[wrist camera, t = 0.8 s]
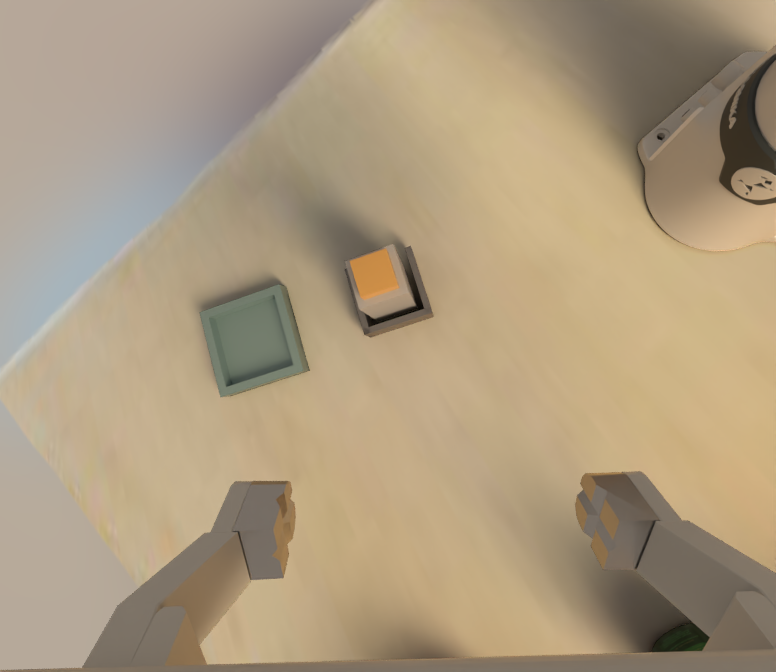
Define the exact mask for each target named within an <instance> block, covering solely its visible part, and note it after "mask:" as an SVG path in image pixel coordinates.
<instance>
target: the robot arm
mask: <svg viewBox="0 0 776 672" xmlns="http://www.w3.org/2000/svg"><path fill="white" fill-rule="evenodd" d="M657 136H659V137H661V138H662V140H659V139H657ZM638 153H639V156H640V159H641V161H642V163H643V166H644V168H645V196H646V201H647V205H648V207H649V210H650V212H651V214H652V216H653V218H654V219H655V221H656V222H657V223H658V225H659V226H660V227H661V228H662V229H663V230H664V231H665V232H666V233H667V234H669V235H670V236H671V237H673V238H674V239H676V240H678V241H679V242H681V243H683V244H686V245H688V246H691V247H694V248H697V249H702V250H708V251H728V250H735V249H739V248H743V247H746V246H749V245H752V244H755V243H759V242H776V45H775V46H774V47H773V48H772V49H771V50H770V51H768V52H761V51H750V52H744V53H742V54H741V55H740V56H738V57H737V58H736V59H735V60H732V61H731V62H730V63H729V64H727V65H726V66H725V67H724V68H723V69H722V70H721V71H720V72H719V73H718V74H717V75H716V76H715V77H714V78H712V79H711V80H710V81H709V82H708V83H707V84H705V85H704V86H703V87H702V88H701V89H700V90H698V91H697V92H696V93H695V94H694V95H693V96H691V97H690V98H689V99H688V100H687V101H686V102H684V103H683V104H682V105H681V106H680V107H679V108H677V109H676V110H675V111H674V112H673V113H672V114H670V115H669V116H668V117H667V118H666V119H665V120H663V121H662V122H661V123H660V124H659V125H658V126H656V127H655V128H654V129H653V130H652V131H651V132H649V133H648V134H647V135H646V136H645V137H644V138H643V139H641V141H640V142H639V144H638ZM580 484H581V486H582V488H583V491H582V492H581V493H579V494H578V495H577V498H576V503H575V507H576V516H577V519H578V522H579V524H580V526H581V528H582V530H583V532H585V533H586V534H587V535H589V536H590V537H591V538H592V543H591V548H592V550H593V551H594V553H595V555H596V557H597V559H598V561H599V563H600V565H601V567H602V569H603V570H636V572H637V573H638V574H639V575H640V576H641V577H643V578H644V579H645V580H646V581H647V582H648V583H649V584H650V585H652V586H653V587H654V588H655V589H656V590H657V591H658V592H659V593H660V594H662V595H663V596H664V597H665V598H666V599H667V600H668V601H669V602H671V603H672V604H673V605H674V606H675V607H676V608H677V609H678V610H680V611H681V612H682V613H683V614H684V615H685V616H686V617H687V618H689V619H690V620H691V621H692V622H693V623H694V624H695V625H696V626H698V627H699V628H700V629H701V630H702V631H703V632H704V633H705V634H706V635H708V636H709V637H710V638H709V640H708V642H707V643H706V645H705V647H704V649H703V650H702V651H684V652H648V653H611V654H575V655H538V656H502V657H467V658H432V659H396V660H359V661H323V662H286V663H249V664H212V665H207V663H206V661H205V658H204V656H203V653H202V651H201V648H200V646H199V645H200V644H201V643H202V642H203V640H204V639H205V638H206V637H207V635H208V634H209V633H210V632H211V630H212V629H213V628H214V627H215V626H216V624H217V623H218V622H219V621H220V619H221V618H222V617H223V616H224V614H225V613H226V612H227V611H228V610H229V608H230V607H231V606H232V605H233V603H234V602H235V601H236V600H237V598H238V597H239V596H240V595H241V594H242V592H243V591H244V590H245V589H246V587H247V586H248V585H249V584H250V582H251V581H250V580H259V579H277V578H284V574H285V570H286V565H287V561H288V557H289V551H288V545H287V544H288V543H289V542H290V541H291V540H292V539H293V534H294V529H295V519H296V515H295V504H294V502H293V501H292V500H291V499H290V498H291V494H292V487H291V482H289V481H235V482H234V483H233V484H232V485H231V487H230V489H229V492H228V494H227V496H226V498H225V501H224V503H223V505H222V507H221V510H220V512H219V514H218V516H217V519H216V521H215V523H214V526H213V528H212V530H211V532H210V533H204V534H203V535H202V536H200V537H199V538H198V539H197V540H196V541H194V542H193V543H192V544H191V545H190V546H188V547H187V548H186V549H185V550H184V551H183V552H181V553H180V554H179V555H178V556H177V557H175V558H174V559H173V560H172V561H171V562H169V563H168V564H167V565H166V566H165V567H163V568H162V569H161V570H160V571H159V572H157V573H156V574H155V575H154V576H153V577H151V578H150V579H149V580H148V581H147V582H145V583H144V584H143V585H142V586H141V587H140V588H138V589H137V590H136V591H135V592H134V593H132V595H130V596H129V597H128V598H126V599H125V600H124V601H123V602H122V603H120V604H119V605H118V606H117V608H116V609H115V611H114V613H113V615H112V616H111V618H110V620H109V622H108V624H107V625H106V627H105V629H104V631H103V632H102V634H101V636H100V637H99V639H98V641H97V643H96V644H95V646H94V648H93V650H92V651H91V653H90V655H89V657H88V658H87V660H86V662H85V664H84V665H83V667H82V668H61V669H24V670H0V672H776V573H774V572H773V571H771V570H769V569H768V568H766V567H764V566H763V565H761V564H759V563H758V562H756V561H754V560H753V559H751V558H749V557H748V556H746V555H744V554H743V553H741V552H739V551H738V550H736V549H734V548H733V547H731V546H729V545H728V544H726V543H725V542H723V541H721V540H720V539H718V538H716V537H715V536H713V535H711V534H710V533H708V532H706V531H705V530H703V529H701V528H700V527H698V526H696V525H695V524H693V523H691V522H690V521H682V520H681V518H680V517H679V516H678V515H677V513H676V512H675V511H674V510H673V508H672V507H671V506H670V505H669V503H668V502H667V501H666V500H665V499H664V497H663V496H662V495H661V494H660V492H659V491H658V490H657V489H656V487H655V486H654V485H653V484H652V482H651V481H650V480H649V479H648V477H647V476H646V475H645V474H644V473H642V472H621V473H620V472H610V473H585V474H584V475H583V476H582V479H581V483H580Z"/></svg>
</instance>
